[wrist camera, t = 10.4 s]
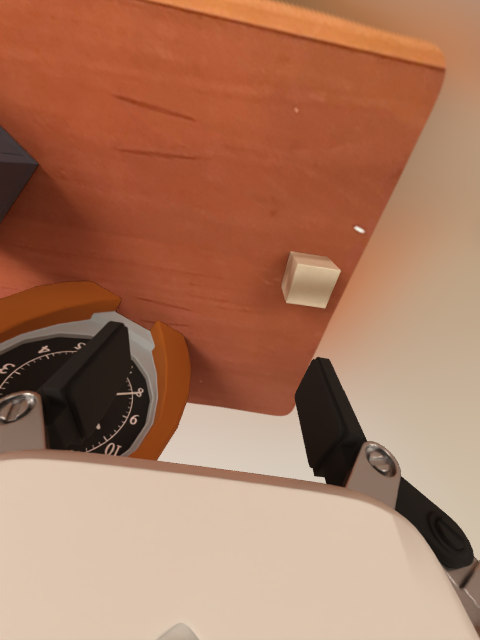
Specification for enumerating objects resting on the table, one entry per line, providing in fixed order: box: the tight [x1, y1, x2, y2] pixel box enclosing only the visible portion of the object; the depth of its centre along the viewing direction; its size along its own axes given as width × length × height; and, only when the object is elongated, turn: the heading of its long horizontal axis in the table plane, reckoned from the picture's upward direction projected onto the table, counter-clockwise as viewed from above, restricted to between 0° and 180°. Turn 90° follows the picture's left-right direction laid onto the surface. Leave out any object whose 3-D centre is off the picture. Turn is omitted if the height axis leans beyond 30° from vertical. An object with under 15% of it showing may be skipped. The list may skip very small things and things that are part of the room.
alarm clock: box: [0, 281, 191, 461], centre depth 22 cm, size 22×10×23 cm, turn 52°
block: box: [281, 251, 341, 308], centre depth 24 cm, size 4×4×4 cm
